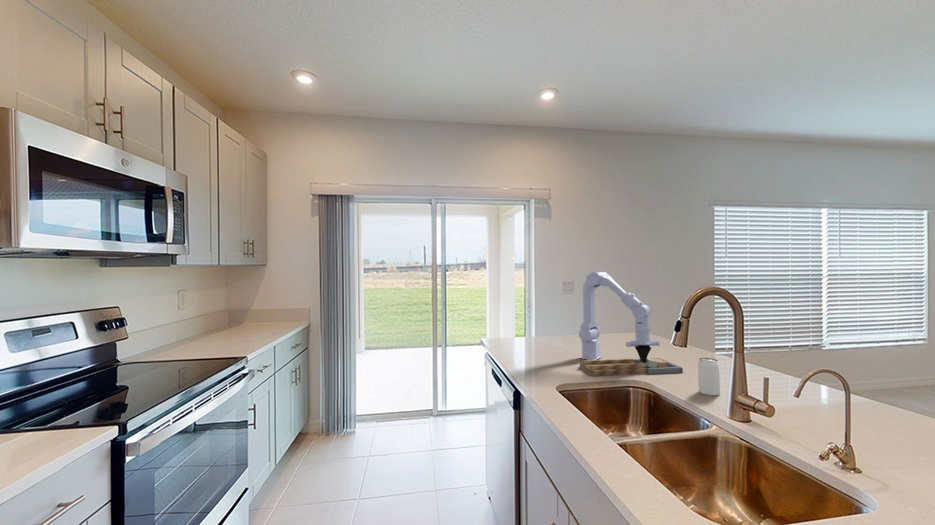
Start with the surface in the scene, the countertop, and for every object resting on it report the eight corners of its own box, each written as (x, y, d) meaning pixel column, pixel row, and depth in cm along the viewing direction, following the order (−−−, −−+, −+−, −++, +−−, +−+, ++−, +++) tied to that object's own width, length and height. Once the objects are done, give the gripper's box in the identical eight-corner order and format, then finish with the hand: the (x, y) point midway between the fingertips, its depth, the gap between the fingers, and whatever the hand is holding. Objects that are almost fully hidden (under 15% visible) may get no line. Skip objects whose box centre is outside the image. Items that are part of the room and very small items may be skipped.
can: (723, 396, 127) (722, 362, 127) (703, 395, 128) (702, 361, 128) (715, 390, 133) (714, 357, 133) (695, 389, 135) (694, 357, 135)
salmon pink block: (657, 369, 160) (657, 362, 160) (650, 365, 166) (649, 359, 166) (666, 369, 160) (666, 362, 160) (658, 365, 166) (658, 358, 166)
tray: (648, 374, 154) (648, 369, 154) (628, 364, 171) (628, 359, 171) (682, 372, 156) (682, 367, 156) (659, 362, 172) (659, 358, 172)
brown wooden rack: (592, 376, 154) (592, 367, 154) (579, 367, 168) (579, 359, 168) (646, 373, 156) (646, 365, 156) (629, 364, 170) (629, 357, 170)
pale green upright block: (647, 366, 160) (649, 360, 160) (640, 363, 166) (641, 356, 166) (656, 368, 160) (657, 362, 160) (648, 365, 166) (650, 358, 166)
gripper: (631, 334, 158) (632, 365, 158) (663, 332, 159) (664, 363, 159) (623, 331, 165) (624, 361, 165) (653, 330, 167) (654, 359, 166)
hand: (643, 362), depth 163 cm, fingers closed
